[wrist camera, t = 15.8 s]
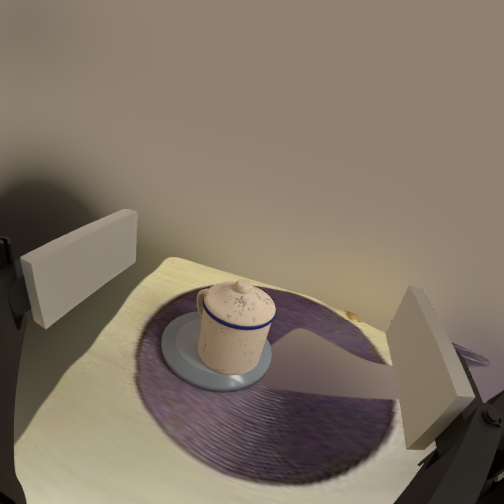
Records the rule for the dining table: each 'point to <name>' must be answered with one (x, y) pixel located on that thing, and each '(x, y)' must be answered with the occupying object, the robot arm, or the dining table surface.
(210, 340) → the teacup with lid
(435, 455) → the robot arm
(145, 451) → the dining table surface
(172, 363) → the dish
